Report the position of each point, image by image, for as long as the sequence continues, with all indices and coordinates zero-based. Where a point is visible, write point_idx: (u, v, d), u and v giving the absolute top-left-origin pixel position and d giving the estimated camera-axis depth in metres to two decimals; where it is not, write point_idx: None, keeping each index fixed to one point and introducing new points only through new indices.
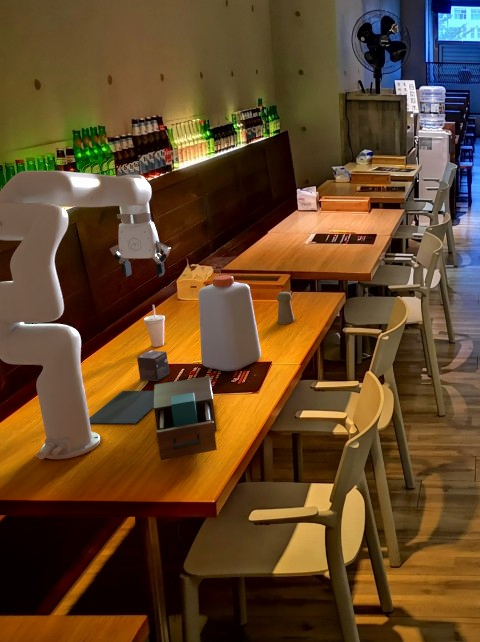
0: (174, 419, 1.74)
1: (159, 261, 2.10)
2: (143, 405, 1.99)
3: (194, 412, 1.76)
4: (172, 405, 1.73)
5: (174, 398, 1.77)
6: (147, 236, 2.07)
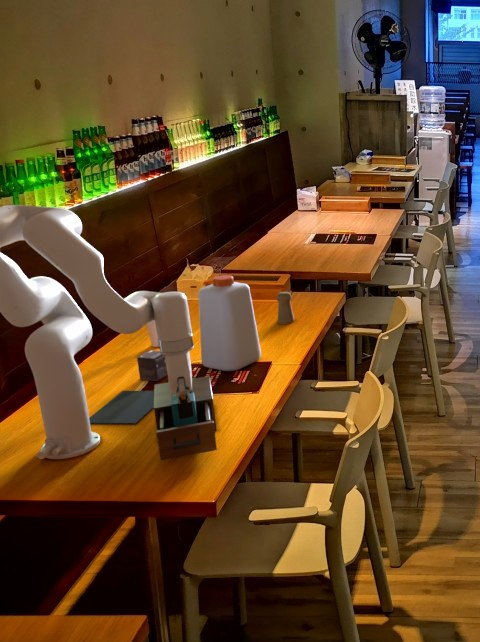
0: (174, 419, 1.74)
1: (178, 401, 1.71)
2: (143, 405, 1.99)
3: (194, 412, 1.76)
4: (172, 405, 1.73)
5: (174, 398, 1.77)
6: (167, 369, 1.70)
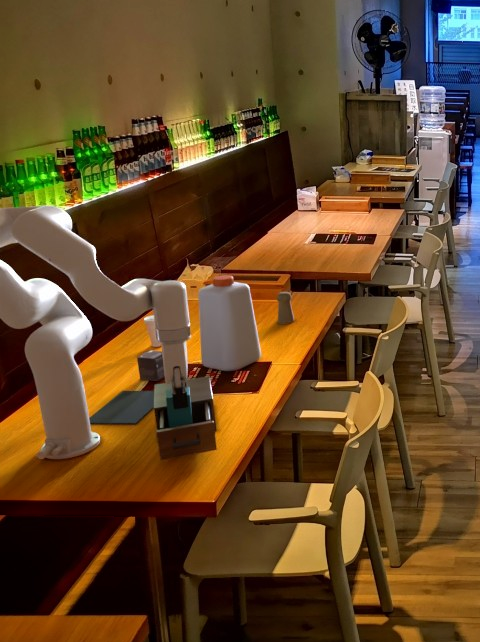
0: (169, 413, 1.74)
1: (173, 392, 1.72)
2: (143, 405, 1.99)
3: (189, 406, 1.75)
4: (167, 398, 1.73)
5: (170, 392, 1.76)
6: (163, 358, 1.69)
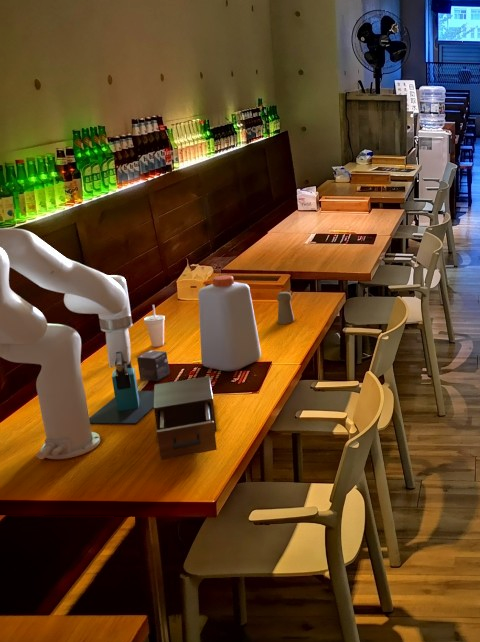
0: (115, 390, 1.94)
1: (116, 374, 1.90)
2: (143, 405, 1.99)
3: (133, 384, 1.96)
4: (113, 377, 1.93)
5: None
6: None
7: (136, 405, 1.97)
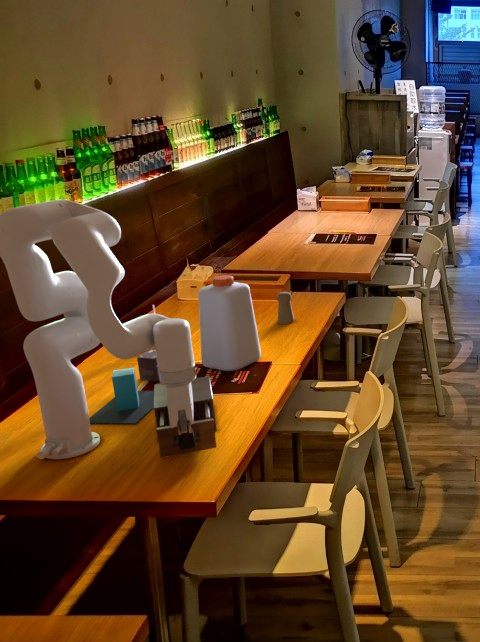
0: (115, 390, 1.94)
1: (178, 432, 1.64)
2: (143, 405, 1.99)
3: (133, 384, 1.96)
4: (113, 377, 1.93)
5: (116, 372, 1.96)
6: (167, 401, 1.59)
7: (136, 405, 1.97)
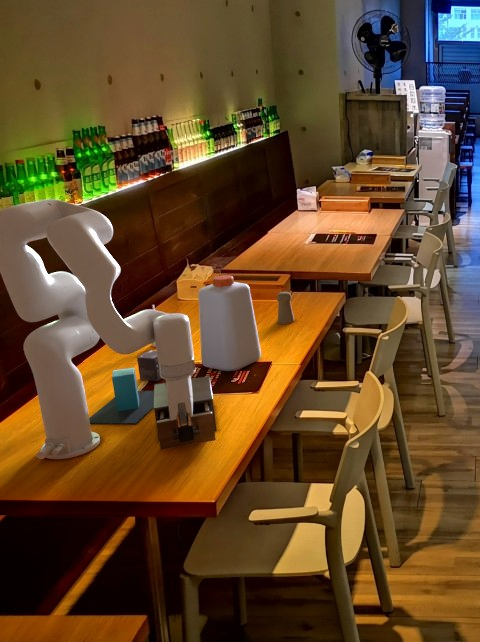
0: (115, 390, 1.94)
1: None
2: (143, 405, 1.99)
3: (133, 384, 1.96)
4: (113, 377, 1.93)
5: (116, 372, 1.96)
6: (167, 394, 1.63)
7: (136, 405, 1.97)
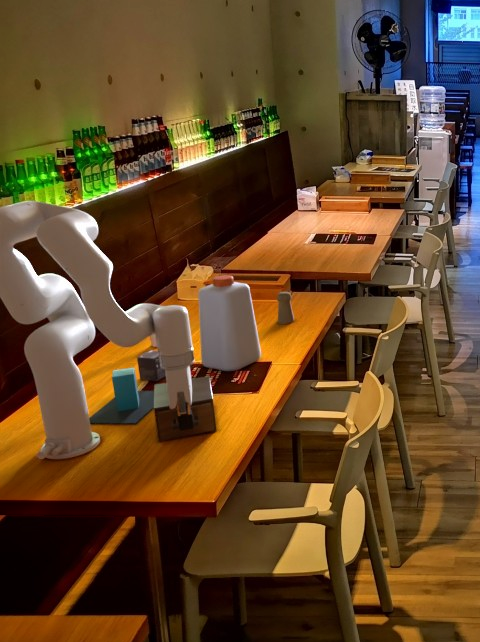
0: (115, 390, 1.94)
1: None
2: (143, 405, 1.99)
3: (133, 384, 1.96)
4: (113, 377, 1.93)
5: (116, 372, 1.96)
6: (167, 384, 1.68)
7: (136, 405, 1.97)
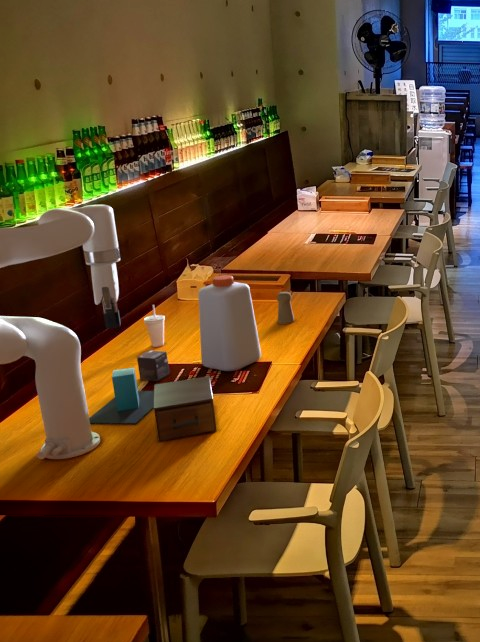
0: (115, 390, 1.94)
1: None
2: (143, 405, 1.99)
3: (133, 384, 1.96)
4: (113, 377, 1.93)
5: (116, 372, 1.96)
6: (92, 279, 1.74)
7: (136, 405, 1.97)
